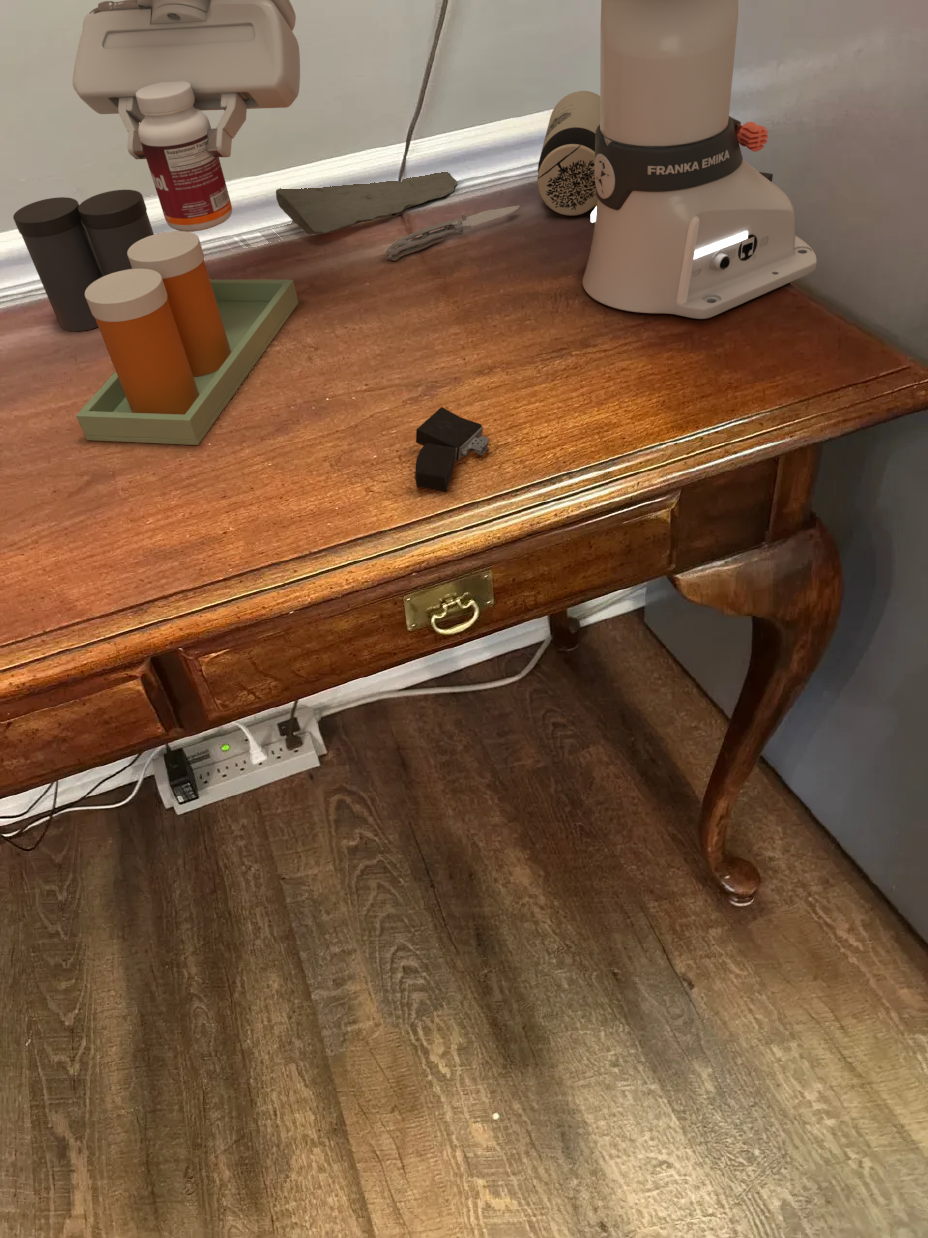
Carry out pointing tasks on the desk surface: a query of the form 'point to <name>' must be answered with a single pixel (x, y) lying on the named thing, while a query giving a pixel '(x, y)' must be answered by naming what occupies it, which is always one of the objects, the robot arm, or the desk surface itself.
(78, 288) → the grey canister
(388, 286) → the desk surface
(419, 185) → the stone slab
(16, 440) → the desk surface
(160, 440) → the tray
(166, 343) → the bottle
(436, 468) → the lighter
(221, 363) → the bottle
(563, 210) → the travel mug
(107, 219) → the grey canister
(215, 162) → the pill bottle
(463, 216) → the knife
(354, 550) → the desk surface
